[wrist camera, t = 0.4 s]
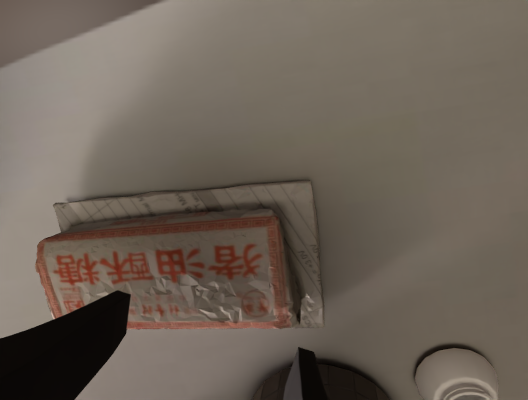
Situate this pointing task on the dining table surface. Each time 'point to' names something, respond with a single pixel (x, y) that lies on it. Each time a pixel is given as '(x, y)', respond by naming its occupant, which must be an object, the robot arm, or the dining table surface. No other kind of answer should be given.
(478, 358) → the white jar
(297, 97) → the dining table surface
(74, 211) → the packaged product
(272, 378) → the bowl
